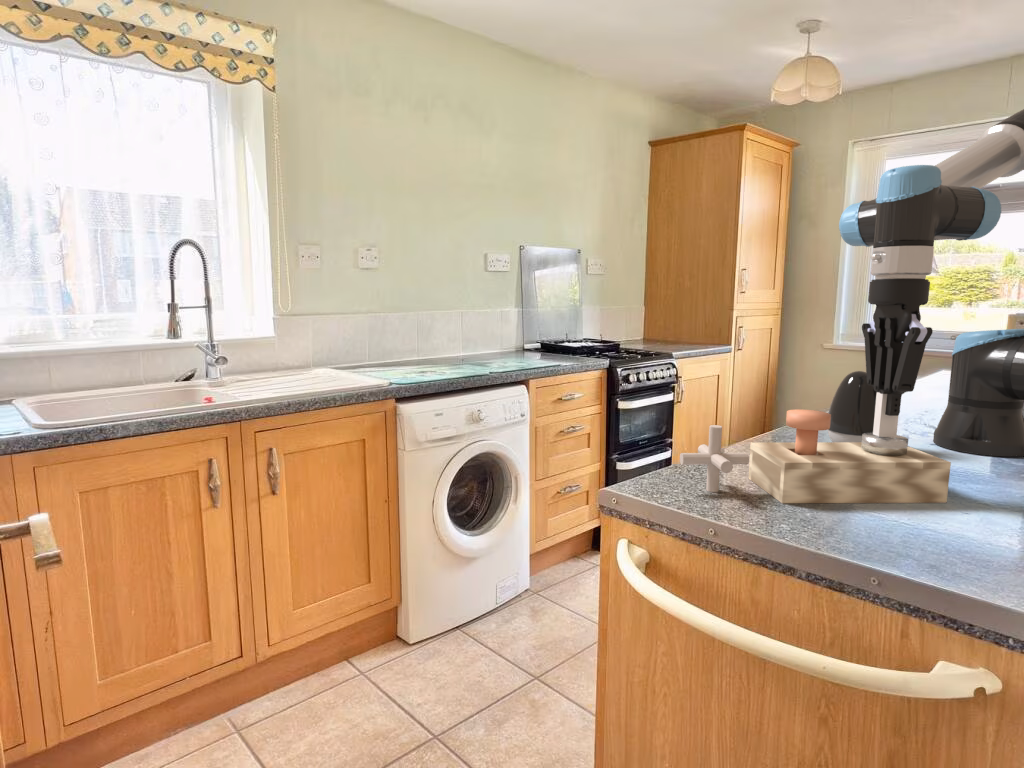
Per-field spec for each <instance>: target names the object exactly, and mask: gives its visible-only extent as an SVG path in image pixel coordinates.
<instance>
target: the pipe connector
mask: <svg viewBox="0 0 1024 768" xmlns="http://www.w3.org/2000/svg"><path fill="white" fill-rule="evenodd" d="M722 436H723V426H722V425H718V424H711V425H709V430H708V445H707V444H704V443H703V444H699V446H698V448H697V452H681V453H679V463H680V465H681V466H683V465H686V466H687V465H689V466H691V465H692V466H693V465H694V466H695V465H697V466H699V465H704V466H705V465H707V466H706V467H707V468H706V469H707V470H706V486H705V489H706V491H707V492H709V493H718V492H719V489H720V488H719V487H720V472H722V473H724V474H729V473H731V472H732V471H733V468H734V465H748V464H749V461H750V455H749V454H748V452H722V438H723V437H722Z"/></svg>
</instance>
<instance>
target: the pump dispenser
mask: <svg viewBox="0 0 1024 768" xmlns="http://www.w3.org/2000/svg"><path fill="white" fill-rule="evenodd" d="M875 399H876V391H874V388H873V386H872V385H868V384H867V376H866V371H863V370H856V371H855V370H854V371H852V372H849V373H848V374H847V375H845V377H844V378H843V379H842V380H841V382H840V384H839V385H838V386H837V388H836V390H835V393H834V396H833V397H832V400H831V402H830V406H829V409H828V411H827V413H829V414H831V421H830V429H828V430H827V433H828V436H829V439H830V440H831V442H862V434H864V433H873V427H874V416H875V402H876V401H875Z"/></svg>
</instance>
